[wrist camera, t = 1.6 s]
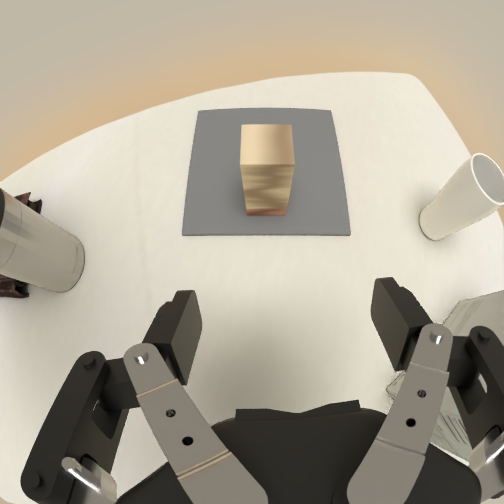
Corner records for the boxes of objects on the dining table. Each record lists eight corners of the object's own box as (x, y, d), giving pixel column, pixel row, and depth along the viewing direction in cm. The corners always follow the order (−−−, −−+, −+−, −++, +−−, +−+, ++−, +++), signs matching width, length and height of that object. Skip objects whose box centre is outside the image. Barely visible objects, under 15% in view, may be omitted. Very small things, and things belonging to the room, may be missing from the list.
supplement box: (427, 442, 27) (504, 483, 10) (382, 389, 30) (468, 422, 13) (493, 356, 30) (576, 352, 12) (457, 299, 33) (547, 271, 15)
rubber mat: (182, 235, 37) (181, 234, 36) (198, 112, 43) (198, 110, 42) (349, 235, 36) (350, 234, 35) (330, 112, 42) (331, 110, 41)
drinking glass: (429, 196, 37) (482, 144, 23) (454, 230, 35) (515, 189, 21) (405, 218, 36) (462, 165, 22) (433, 255, 35) (499, 216, 20)
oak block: (247, 215, 37) (239, 164, 25) (247, 182, 38) (241, 124, 26) (285, 215, 36) (294, 164, 25) (284, 182, 38) (291, 124, 26)
